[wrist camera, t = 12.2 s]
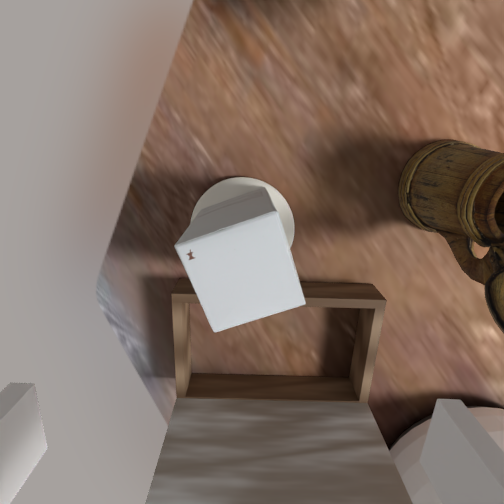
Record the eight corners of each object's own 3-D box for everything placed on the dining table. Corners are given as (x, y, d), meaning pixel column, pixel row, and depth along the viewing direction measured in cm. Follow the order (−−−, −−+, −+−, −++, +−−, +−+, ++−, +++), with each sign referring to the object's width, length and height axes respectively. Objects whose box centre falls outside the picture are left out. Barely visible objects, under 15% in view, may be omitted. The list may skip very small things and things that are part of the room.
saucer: (190, 175, 33) (188, 175, 32) (297, 178, 33) (298, 179, 32) (192, 274, 36) (191, 277, 35) (289, 277, 36) (290, 280, 36)
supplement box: (224, 271, 35) (210, 336, 23) (199, 208, 33) (169, 243, 21) (288, 251, 34) (308, 307, 22) (267, 184, 32) (277, 208, 20)
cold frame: (179, 278, 36) (110, 406, 18) (372, 284, 37) (487, 416, 19) (184, 380, 41) (131, 563, 23) (355, 385, 41) (435, 569, 23)
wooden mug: (371, 258, 36) (481, 361, 19) (416, 131, 31) (612, 113, 14) (446, 273, 36) (620, 388, 19) (500, 150, 32) (784, 157, 15)
